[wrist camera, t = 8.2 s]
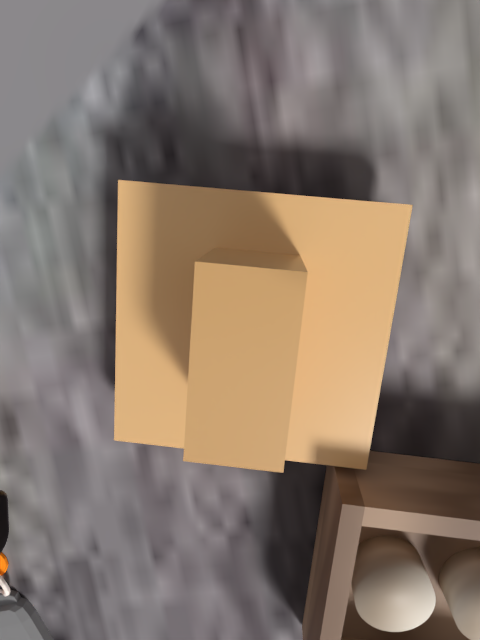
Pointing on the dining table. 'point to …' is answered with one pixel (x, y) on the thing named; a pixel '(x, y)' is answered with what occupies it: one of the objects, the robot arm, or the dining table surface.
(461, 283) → the dining table surface
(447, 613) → the walnut box
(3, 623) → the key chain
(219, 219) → the lid
